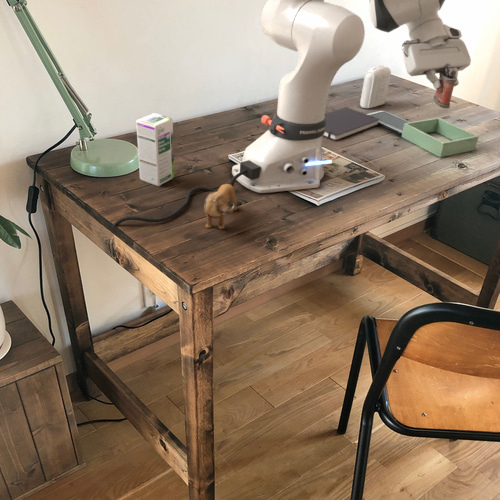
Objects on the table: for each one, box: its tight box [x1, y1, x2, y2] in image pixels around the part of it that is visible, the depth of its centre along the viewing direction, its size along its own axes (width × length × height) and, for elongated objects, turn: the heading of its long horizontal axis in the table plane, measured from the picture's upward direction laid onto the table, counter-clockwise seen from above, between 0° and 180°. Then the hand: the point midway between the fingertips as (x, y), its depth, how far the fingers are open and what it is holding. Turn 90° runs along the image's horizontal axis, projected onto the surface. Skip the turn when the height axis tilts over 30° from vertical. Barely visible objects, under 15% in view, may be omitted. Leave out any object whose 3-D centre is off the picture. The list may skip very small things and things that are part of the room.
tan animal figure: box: [203, 183, 238, 230], centre depth 116 cm, size 15×5×9 cm, turn 171°
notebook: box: [323, 106, 380, 141], centre depth 167 cm, size 13×2×21 cm
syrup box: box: [135, 112, 175, 187], centre depth 128 cm, size 6×6×14 cm
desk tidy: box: [401, 117, 479, 158], centre depth 160 cm, size 13×15×4 cm
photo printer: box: [359, 65, 392, 110], centre depth 181 cm, size 10×4×12 cm, turn 134°
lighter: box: [432, 64, 458, 109], centre depth 150 cm, size 8×3×10 cm, turn 0°
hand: (447, 86), depth 150 cm, fingers closed on lighter, 4 cm apart
